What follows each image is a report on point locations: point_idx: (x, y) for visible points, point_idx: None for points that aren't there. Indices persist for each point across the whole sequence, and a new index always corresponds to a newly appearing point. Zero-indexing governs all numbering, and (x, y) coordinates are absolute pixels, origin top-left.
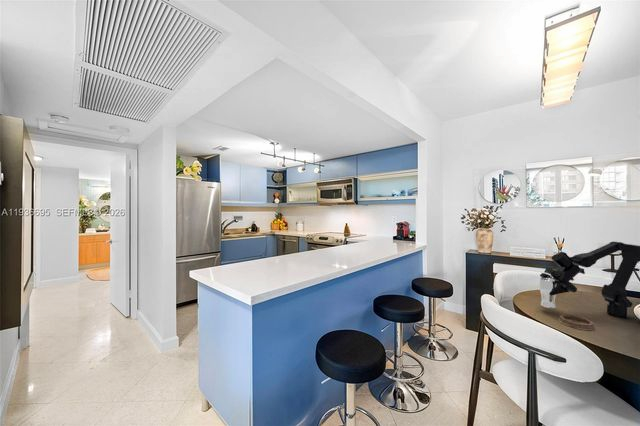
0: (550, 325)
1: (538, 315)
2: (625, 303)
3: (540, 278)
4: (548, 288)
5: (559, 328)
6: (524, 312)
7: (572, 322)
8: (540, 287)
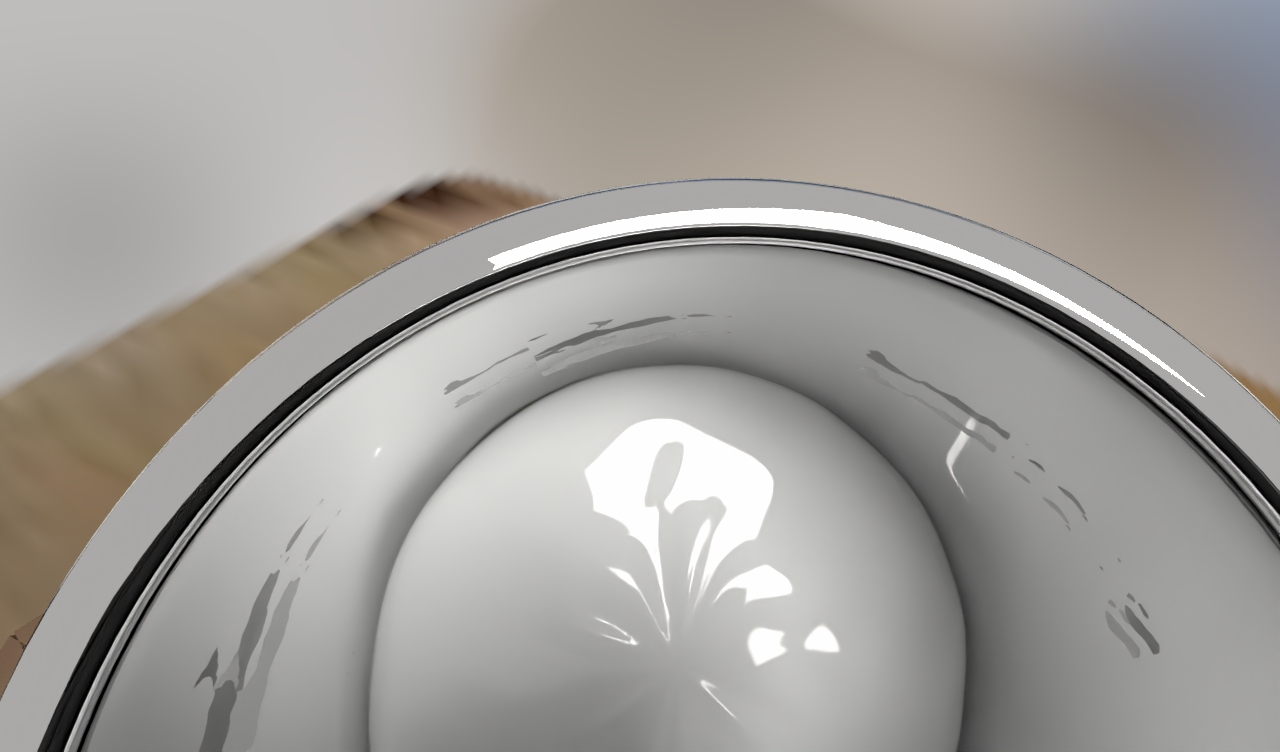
0: (89, 355)
1: None
2: None
3: (990, 237)
4: (369, 549)
5: (5, 428)
6: (505, 204)
7: (3, 649)
8: (650, 353)
